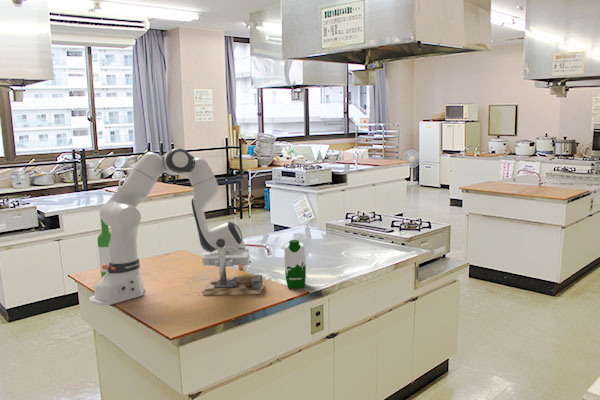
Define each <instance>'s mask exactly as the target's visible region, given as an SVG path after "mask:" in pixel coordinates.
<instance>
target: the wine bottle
mask: <svg viewBox="0 0 600 400" xmlns="http://www.w3.org/2000/svg"><path fill="white" fill-rule="evenodd" d="M100 224H101V225H100V226H101V232H100V233H99V235H98V236H97V248H98V257H99V258H98V259H99V260H98V261H99V267H100V276H101V279H102V278H103V276H104V275H105V274H106V273H107V272H108V271H107V270H108V269H107V270H105V269H102V265H103V264H105V265H108V266H109V263H110V254H109V242H110V238H111V231H110V229H109V226H108V225H107V224H105V223H104V222H103V220H102V219H101V218H100Z"/></svg>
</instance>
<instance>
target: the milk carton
mask: <svg viewBox="0 0 600 400" xmlns="http://www.w3.org/2000/svg"><path fill="white" fill-rule="evenodd" d="M283 251H284V274H285V281H286V286H287V289H288V288H294V290H295V289H305V287H306V278H307V277H306V275H307V272H306V271H307V268H306V267H307V266H306V254H305V253H306V252H305V251H306V250H305V245H304V243H303V242H300V240H298V239H291V240H289V241H288V242H287V243H286V242H285V243H284V250H283Z"/></svg>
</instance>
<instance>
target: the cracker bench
mask: <svg viewBox="0 0 600 400" xmlns="http://www.w3.org/2000/svg"><path fill="white" fill-rule="evenodd" d="M217 281H218V280H217ZM217 281H210V283H209V284H208V285H206V287H205V288H204V289H203V290H202V292H201V293H202V296H241V295H244V296H246V295H247V296H250V295H249V294H260V295H261V293H262V292H263V290H262V289H264V288H265V283H263V275H262V274H254V276H253V278H252V279H251V278H246V279H245V280H242V281H241V280H239V286H238V287H237V288H214V285H215V284H216V283H217ZM261 291H262V292H261Z"/></svg>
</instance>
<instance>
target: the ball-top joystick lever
mask: <svg viewBox="0 0 600 400" xmlns="http://www.w3.org/2000/svg"><path fill="white" fill-rule="evenodd" d="M216 245H217V247H218V249H217V253H218V260H219V266H218V272H219V279H218V280H217V283H216V284H215V285H214V288H237V287H238V286H239V281H240V280H239V279H240V278H239V277H233V278H232V279H228V278H227V266H225V248H224V247H225V241H224V240H223V239H218V240H217V241H216Z"/></svg>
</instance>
